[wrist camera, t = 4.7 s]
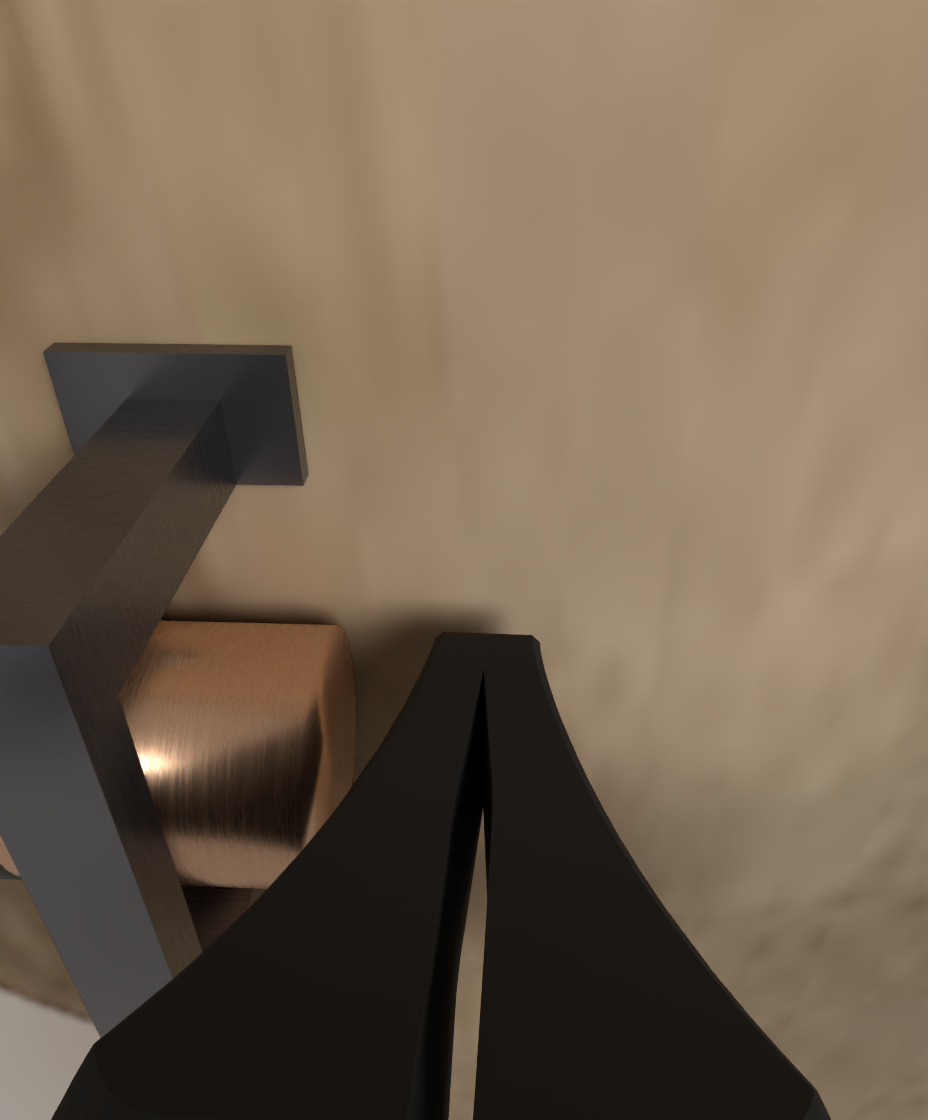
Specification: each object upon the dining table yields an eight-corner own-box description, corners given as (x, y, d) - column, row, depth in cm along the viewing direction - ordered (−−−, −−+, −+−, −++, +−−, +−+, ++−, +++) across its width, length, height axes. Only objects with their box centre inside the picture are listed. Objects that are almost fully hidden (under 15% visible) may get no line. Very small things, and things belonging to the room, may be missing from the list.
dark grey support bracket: (291, 345, 11) (140, 589, 7) (353, 824, 16) (291, 1128, 12) (54, 342, 11) (-238, 578, 7) (193, 818, 16) (76, 1114, 12)
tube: (326, 574, 12) (282, 853, 10) (363, 687, 15) (336, 917, 13) (-309, 560, 12) (-473, 822, 10) (-145, 672, 15) (-246, 889, 13)
